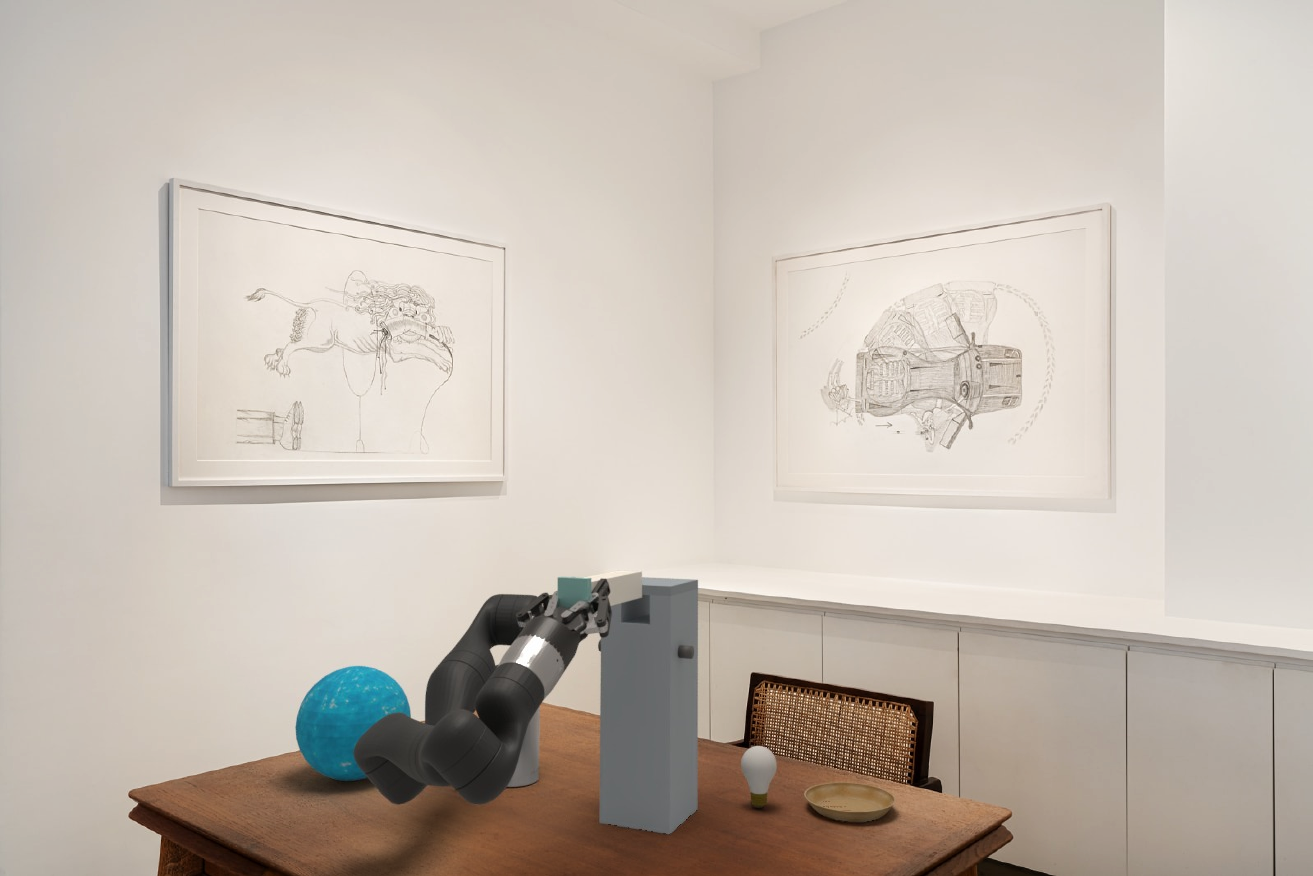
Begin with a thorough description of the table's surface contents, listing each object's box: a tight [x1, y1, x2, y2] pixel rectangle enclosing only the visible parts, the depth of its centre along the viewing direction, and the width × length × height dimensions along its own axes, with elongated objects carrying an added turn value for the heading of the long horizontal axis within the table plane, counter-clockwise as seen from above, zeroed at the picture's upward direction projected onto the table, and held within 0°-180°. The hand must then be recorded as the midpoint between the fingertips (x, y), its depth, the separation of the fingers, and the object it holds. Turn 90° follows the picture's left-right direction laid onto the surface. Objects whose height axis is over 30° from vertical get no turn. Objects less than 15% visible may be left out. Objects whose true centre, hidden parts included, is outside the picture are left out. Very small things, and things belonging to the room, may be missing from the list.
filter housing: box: [597, 576, 699, 835], centre depth 150 cm, size 16×12×38 cm
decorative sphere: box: [294, 665, 412, 782], centre depth 168 cm, size 20×20×20 cm
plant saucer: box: [803, 781, 897, 823], centre depth 152 cm, size 15×15×3 cm
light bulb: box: [740, 745, 777, 809], centre depth 153 cm, size 6×6×10 cm
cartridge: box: [556, 570, 643, 609], centre depth 135 cm, size 5×19×5 cm, turn 157°
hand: (590, 583), depth 131 cm, fingers closed on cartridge, 4 cm apart
